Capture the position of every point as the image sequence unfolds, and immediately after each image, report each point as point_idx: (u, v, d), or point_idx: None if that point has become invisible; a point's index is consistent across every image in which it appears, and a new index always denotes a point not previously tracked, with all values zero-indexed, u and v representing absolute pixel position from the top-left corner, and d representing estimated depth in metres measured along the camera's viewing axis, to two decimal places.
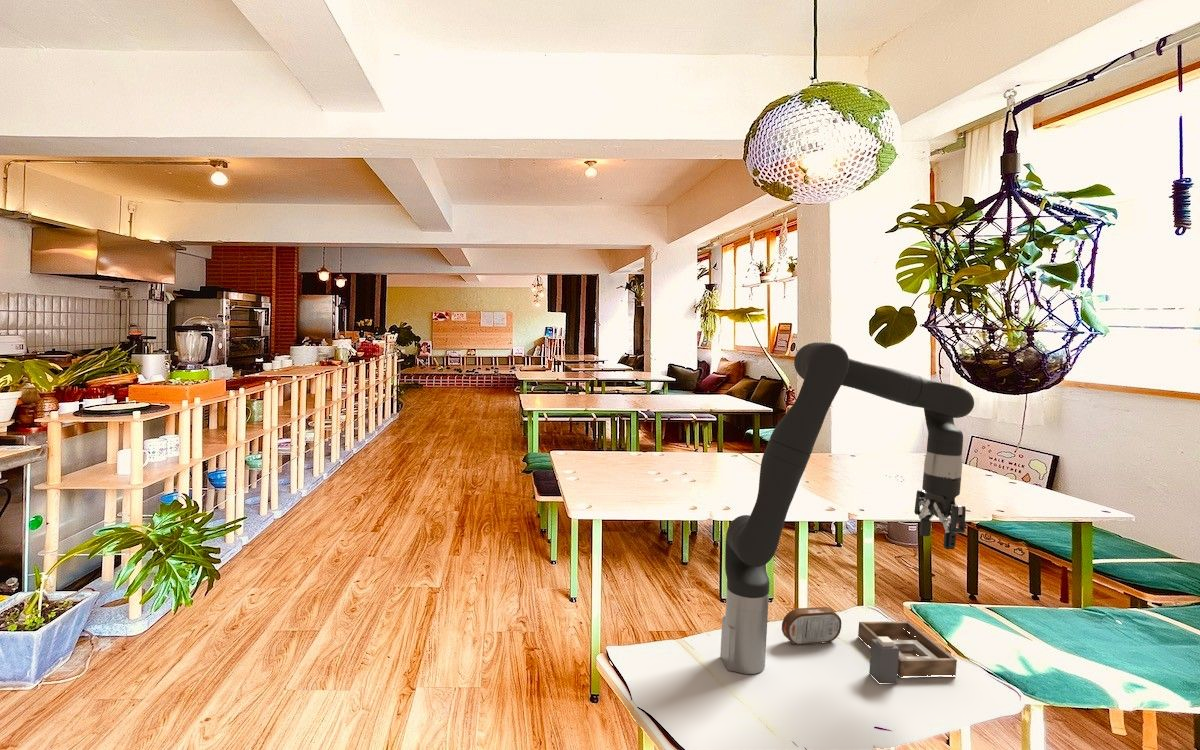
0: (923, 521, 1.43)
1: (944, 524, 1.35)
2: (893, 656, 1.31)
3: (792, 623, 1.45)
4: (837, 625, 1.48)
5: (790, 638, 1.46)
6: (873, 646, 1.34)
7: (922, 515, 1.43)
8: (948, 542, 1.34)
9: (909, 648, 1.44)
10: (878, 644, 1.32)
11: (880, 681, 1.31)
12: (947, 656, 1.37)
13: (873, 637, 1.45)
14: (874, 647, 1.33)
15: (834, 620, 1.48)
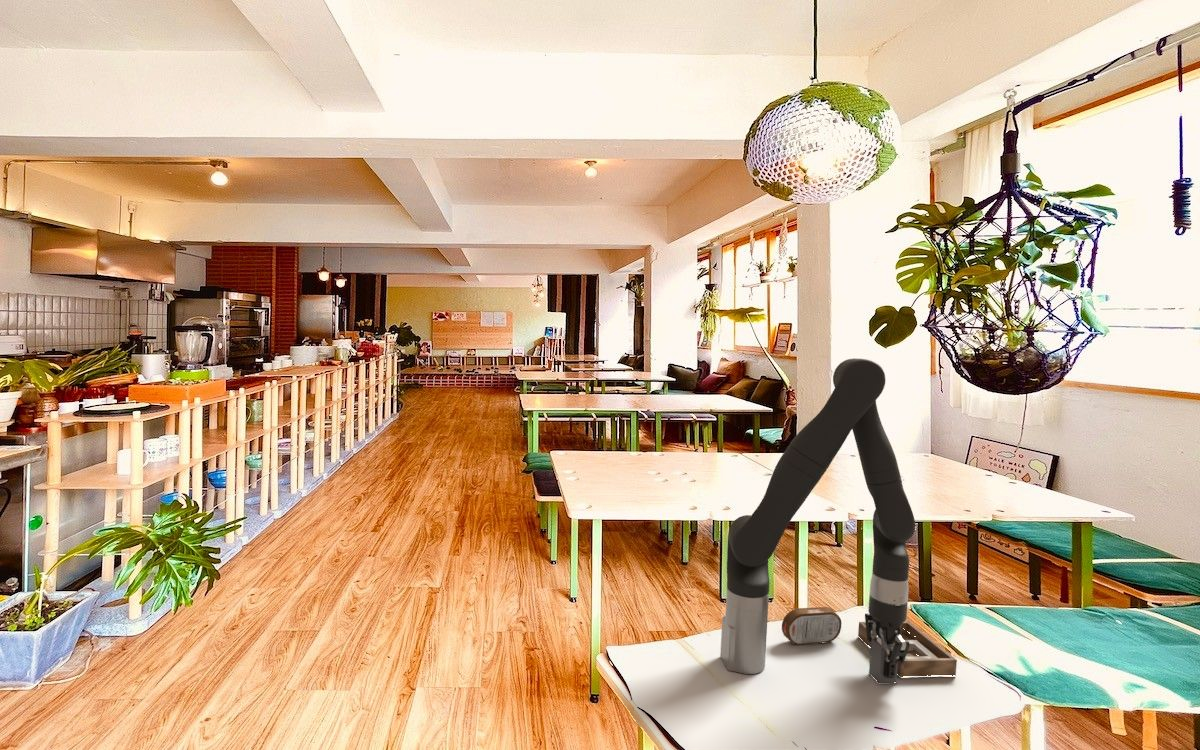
0: None
1: (885, 652, 1.30)
2: None
3: (792, 623, 1.45)
4: (837, 625, 1.48)
5: (790, 638, 1.46)
6: (873, 645, 1.34)
7: None
8: (888, 671, 1.30)
9: (909, 648, 1.44)
10: (878, 644, 1.32)
11: (880, 681, 1.31)
12: (947, 656, 1.37)
13: None
14: (874, 647, 1.33)
15: (834, 620, 1.48)
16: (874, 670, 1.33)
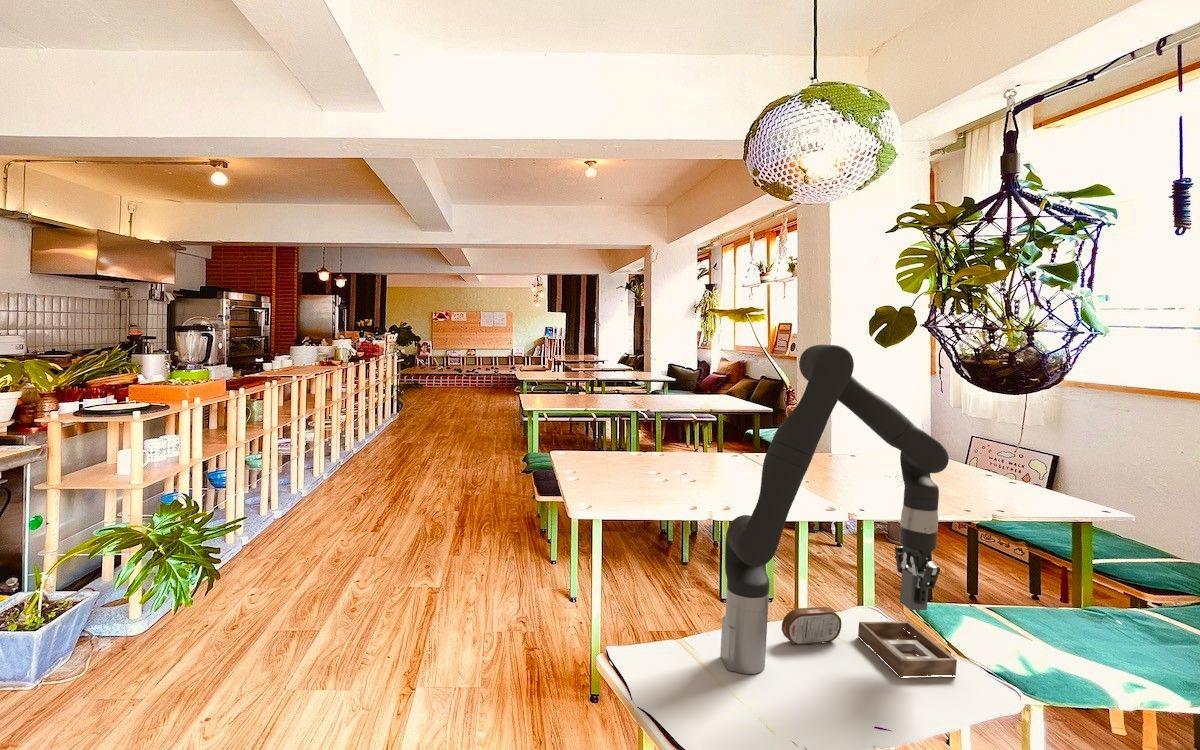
0: None
1: (916, 579, 1.37)
2: None
3: (792, 623, 1.45)
4: (837, 625, 1.48)
5: (790, 638, 1.46)
6: (904, 575, 1.41)
7: None
8: (918, 597, 1.37)
9: (909, 648, 1.44)
10: (909, 572, 1.39)
11: (911, 607, 1.38)
12: (947, 656, 1.37)
13: (873, 637, 1.45)
14: (905, 576, 1.40)
15: (834, 620, 1.48)
16: (905, 597, 1.40)
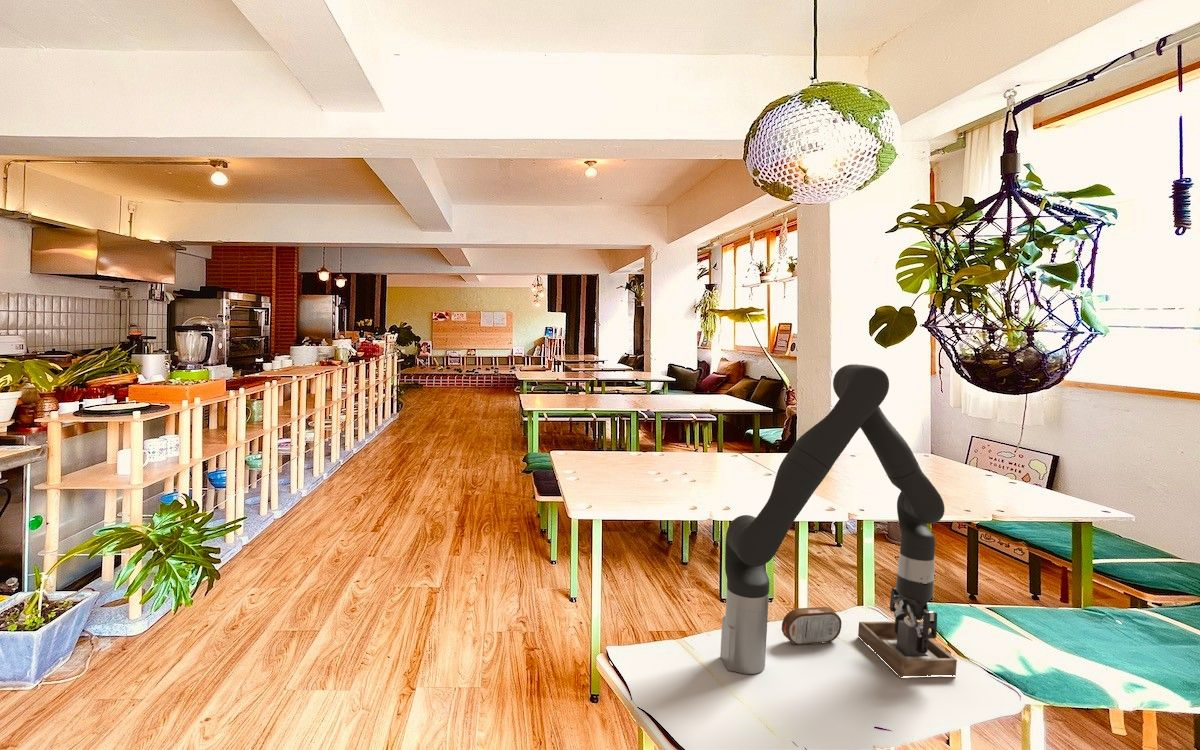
0: (898, 619, 1.45)
1: (917, 628, 1.37)
2: None
3: (792, 623, 1.45)
4: (837, 625, 1.48)
5: (790, 638, 1.46)
6: (900, 626, 1.41)
7: (897, 614, 1.44)
8: (920, 646, 1.36)
9: None
10: (905, 624, 1.40)
11: None
12: (947, 656, 1.37)
13: (873, 637, 1.45)
14: (901, 627, 1.41)
15: (834, 620, 1.48)
16: (901, 649, 1.41)
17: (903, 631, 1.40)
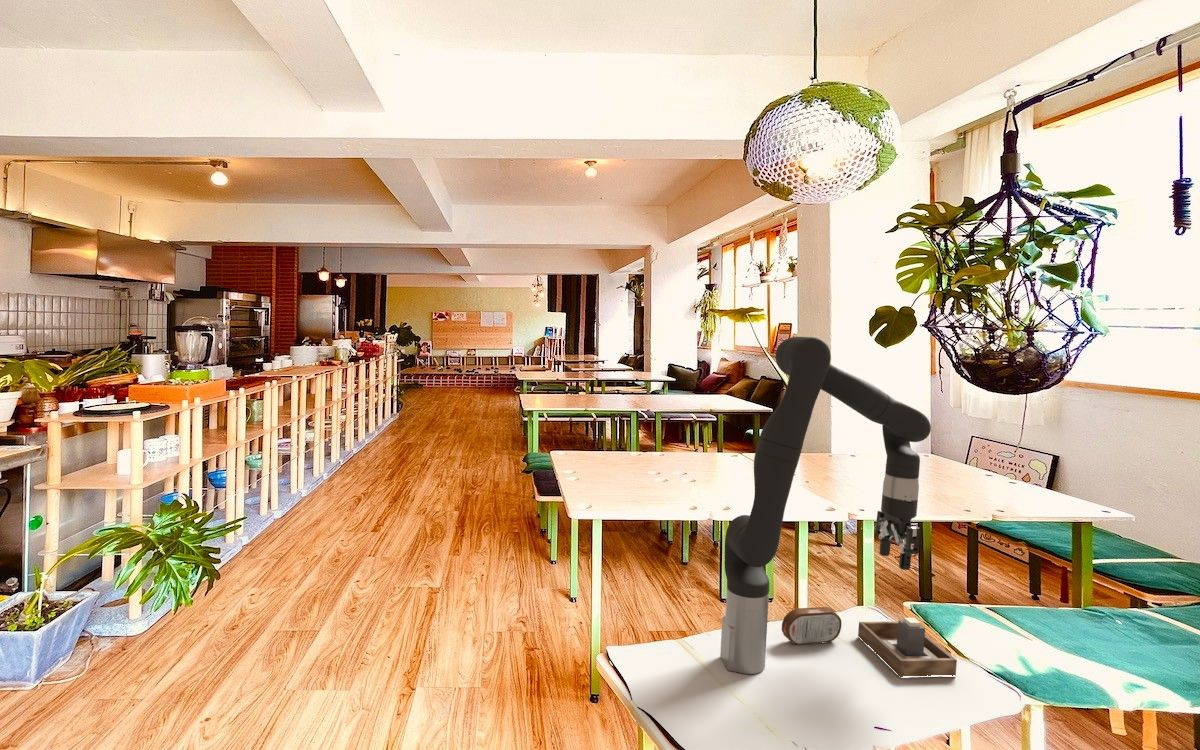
0: (882, 541, 1.47)
1: (900, 545, 1.39)
2: (919, 636, 1.39)
3: (792, 623, 1.45)
4: (837, 625, 1.48)
5: (790, 638, 1.46)
6: (900, 626, 1.41)
7: (881, 535, 1.47)
8: (903, 563, 1.38)
9: None
10: (905, 624, 1.40)
11: None
12: (947, 656, 1.37)
13: (873, 637, 1.45)
14: (901, 627, 1.41)
15: (834, 620, 1.48)
16: (901, 649, 1.41)
17: (903, 631, 1.40)
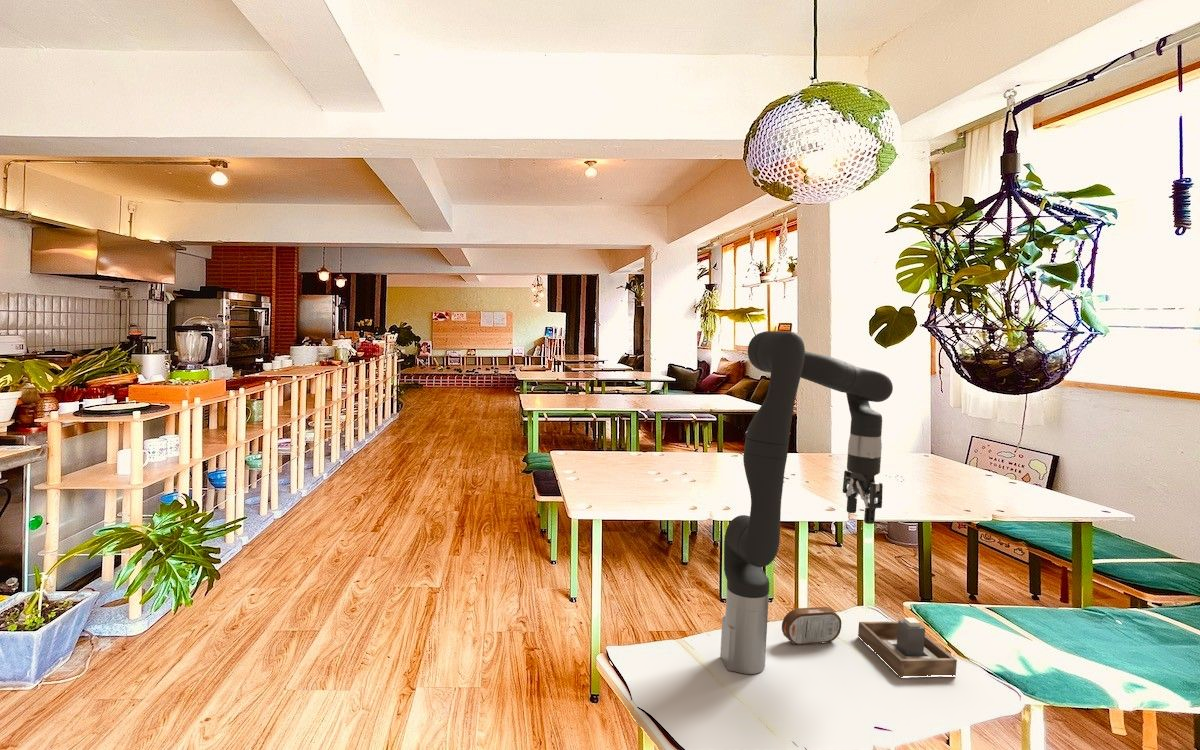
0: (849, 499, 1.54)
1: (864, 500, 1.46)
2: (919, 636, 1.39)
3: (792, 623, 1.45)
4: (837, 625, 1.48)
5: (790, 638, 1.46)
6: (900, 626, 1.41)
7: (848, 493, 1.54)
8: (868, 517, 1.45)
9: None
10: (905, 624, 1.40)
11: None
12: (947, 656, 1.37)
13: (873, 637, 1.45)
14: (901, 627, 1.41)
15: (834, 620, 1.48)
16: (901, 649, 1.41)
17: (903, 631, 1.40)
